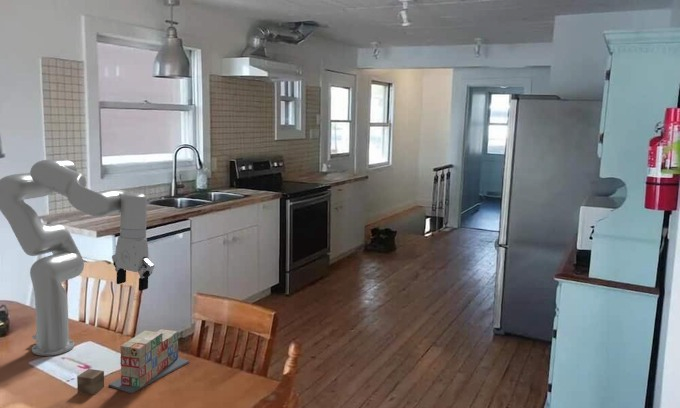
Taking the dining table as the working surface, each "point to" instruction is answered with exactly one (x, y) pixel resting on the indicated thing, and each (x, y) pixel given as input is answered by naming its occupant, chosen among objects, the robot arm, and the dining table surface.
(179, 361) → the mat
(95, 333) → the dining table surface
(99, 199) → the robot arm
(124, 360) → the stack of blocks
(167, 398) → the dining table surface
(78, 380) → the walnut cube
